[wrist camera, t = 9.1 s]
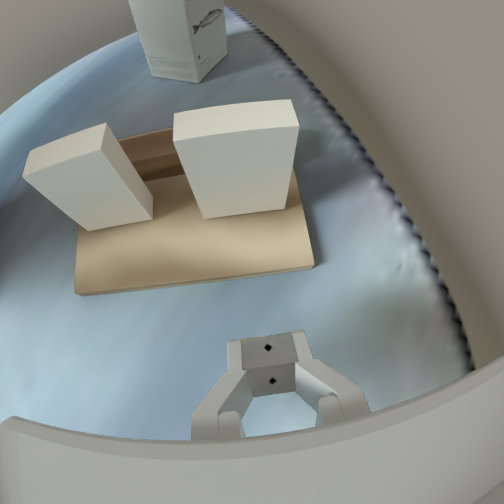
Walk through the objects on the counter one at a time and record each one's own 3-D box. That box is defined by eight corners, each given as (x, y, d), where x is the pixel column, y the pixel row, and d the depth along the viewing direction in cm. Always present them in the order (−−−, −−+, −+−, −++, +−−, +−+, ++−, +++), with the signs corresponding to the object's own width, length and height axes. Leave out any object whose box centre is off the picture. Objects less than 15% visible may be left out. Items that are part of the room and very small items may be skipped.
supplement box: (199, 85, 28) (181, -9, 16) (150, 77, 29) (124, -4, 17) (230, 54, 30) (223, -29, 18) (183, 48, 31) (167, -27, 19)
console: (311, 268, 21) (323, 251, 17) (82, 296, 21) (53, 285, 17) (283, 141, 25) (286, 109, 21) (92, 174, 25) (73, 150, 21)
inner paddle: (152, 219, 21) (100, 149, 13) (88, 231, 21) (21, 176, 12) (153, 196, 22) (106, 122, 13) (90, 209, 22) (30, 150, 13)
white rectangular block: (284, 208, 21) (299, 126, 13) (203, 219, 21) (172, 141, 12) (280, 185, 22) (290, 99, 13) (202, 195, 22) (174, 113, 13)
